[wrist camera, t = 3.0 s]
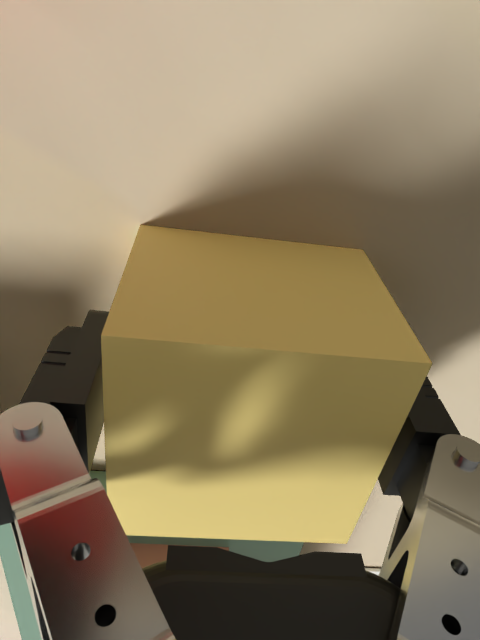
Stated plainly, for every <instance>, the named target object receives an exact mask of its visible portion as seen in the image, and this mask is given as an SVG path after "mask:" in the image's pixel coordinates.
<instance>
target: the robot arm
mask: <svg viewBox="0 0 480 640" xmlns="http://www.w3.org/2000/svg"><path fill="white" fill-rule="evenodd" d="M108 314H109V312H105V311H95V310H90V311H89V312H88V314H87V316H86V319H85V321H84V323H83V326H82V328H80V327H70V326H67V327H66V328H65V329H63V330H62V331H61V332H59V333H58V334H57V335H55V336H54V337H53V339H52V341H51V343H50V345H49V347H48V349H47V353H45V355H44V357H43V359H42V361H41V364H40V365H39V367H38V369H37V371H36V372H35V374H34V376H33V378H32V380H31V382H30V384H29V386H28V388H27V390H26V392H25V394H24V396H23V398H22V400H21V402H20V404H19V405H16V406H13V407H11V408H9V409H7V410H6V411H4V412H3V413H2V414H0V525H4V524H8V523H10V524H11V527H12V531H13V535H14V538H15V542H16V545H17V549H18V553H19V556H20V560H21V563H22V567H23V570H24V574H25V578H26V581H27V585H28V588H29V592H30V596H31V600H32V604H33V608H34V612H35V616H36V620H37V624H38V628H39V631H40V635H41V639H42V640H480V444H479V443H477V442H475V441H474V440H472V439H470V438H467V437H465V436H461V435H460V433H459V431H458V429H457V428H456V426H455V424H454V422H453V421H452V419H451V417H450V416H449V414H448V412H447V410H446V409H445V407H444V405H443V403H442V402H441V400H440V399H438V395H437V393H436V391H435V389H434V388H432V384H431V383H430V381H429V379H428V377H427V376H426V378H425V380H424V382H423V385H422V387H421V389H420V391H419V393H418V395H417V397H416V399H415V401H414V403H413V405H412V408H411V410H410V412H409V414H408V416H407V418H406V420H405V422H404V424H403V426H402V429H401V431H400V433H399V435H398V437H397V439H396V441H395V443H394V445H393V447H392V450H391V452H390V454H389V456H388V458H387V460H386V462H385V464H384V466H383V468H382V471H381V473H380V475H379V477H378V480H379V483H380V486H381V489H382V492H383V495H399V496H401V499H402V501H403V503H402V505H401V507H400V509H399V511H398V514H397V517H396V520H395V524H394V527H393V531H392V534H391V537H390V541H389V544H388V547H387V551H386V554H385V558H384V561H383V564H382V567H381V570H380V573H379V576H378V575H376V574H374V573H372V572H369V571H366V570H365V567H364V563H363V559H362V556H361V554H357V553H335V552H312V553H307V554H303V555H299V556H295V557H291V558H286V559H282V560H278V561H274V562H264V561H260V560H257V559H254V558H251V557H247V556H244V555H241V554H237V553H234V552H231V551H228V550H224V549H221V548H218V547H199V546H176V545H168V550H167V559H166V561H162V562H158V563H154V564H152V565H149V566H146V567H144V568H141V566H140V564H139V562H138V560H137V557H136V555H135V553H134V551H133V549H132V547H131V545H130V543H129V540H128V538H127V536H126V534H125V532H124V530H123V528H122V526H121V523H120V521H119V519H118V517H117V515H116V513H115V511H114V509H113V506H112V504H111V502H110V500H109V498H108V496H107V494H106V492H105V489H104V487H103V485H102V484H101V482H100V481H99V480H98V479H97V478H94V479H91V477H90V475H89V473H90V469H91V466H92V462H93V459H94V455H95V452H96V448H97V444H98V441H99V437H100V434H101V430H102V427H103V423H104V405H103V377H102V350H101V334H102V331H103V328H104V326H105V323H106V320H107V317H108Z"/></svg>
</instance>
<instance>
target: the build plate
mask: <svg viewBox="0 0 480 640" xmlns="http://www.w3.org/2000/svg"><path fill="white" fill-rule="evenodd" d="M89 475H90V477H91V479H94V478H97V479H98V480H99V481H100V482H101V484H102V485H103V487H104V489H105V492H106V494H107V486H106V472H105V471H90V473H89ZM126 536H127V538H128V540H129V543H139V544H163V545H186V546H210V547H229V551H231V552H234V553H237V554H241V555H244V556H247V557H251V558H254V559H257V560H260V561H264V562H274V561H278V560H282V559H286V558H291V557H295V556H299V554H300V551H301V549H302V546H303V544H304V542H289V541H263V540H237V539H211V538H185V537H158V536H132V535H126ZM0 556H1V560H2V564H3V568H4V572H5V576H6V580H7V584H8V587H9V591H10V595H11V599H12V603H13V607H14V611H15V615H16V618H17V622H18V626H19V630H20V634H21V638H22V640H42V639H41V635H40V631H39V628H38V624H37V620H36V616H35V612H34V608H33V604H32V600H31V596H30V592H29V588H28V585H27V581H26V578H25V574H24V570H23V567H22V563H21V560H20V556H19V553H18V549H17V545H16V542H15V538H14V535H13V531H12V527H11V524H10V523H8V524H4V525H0Z"/></svg>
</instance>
